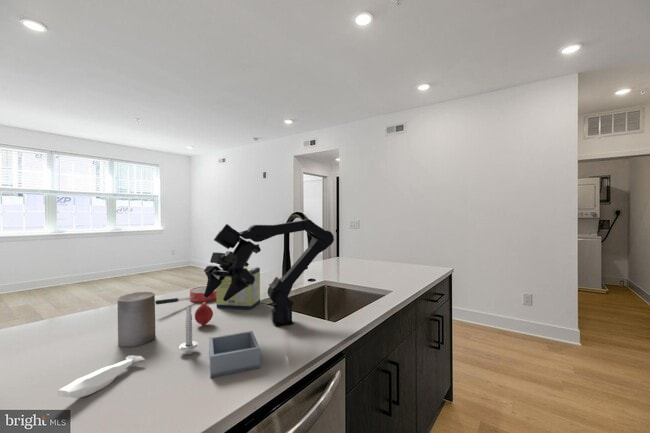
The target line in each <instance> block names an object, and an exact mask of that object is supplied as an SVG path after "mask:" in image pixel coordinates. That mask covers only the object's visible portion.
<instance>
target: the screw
mask: <svg viewBox="0 0 650 433" xmlns="http://www.w3.org/2000/svg"><path fill="white" fill-rule="evenodd" d="M185 310H186V314H185V325H184V326H185V327H184V328H185V341H184V342H182V343H181V344H180V345H179V346H178V349H179V350H180V351H182V353H183V354H184V355H185V356H188V355H192V354H193V353H195V349H196V348H197V347H198V346H199V342H197V341H196V340H193V314H192V307H191V306H187V307H186V309H185Z"/></svg>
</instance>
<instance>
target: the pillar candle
mask: <svg viewBox="0 0 650 433" xmlns="http://www.w3.org/2000/svg"><path fill="white" fill-rule="evenodd" d="M155 296H156V295H155V293H154V292H152V291H137V292H133V293H127V294H124V295H121V296H120V297H118V298H117V299H116V301H117V345H118V346H119V347H123V348H125V347H130V348H132V347H133V348H135V347H139V346H142V345H145V344H148V343H149V342H152V341H153V340H154V339H155V338H156V303H155V302H156V298H155Z"/></svg>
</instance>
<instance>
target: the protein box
mask: <svg viewBox="0 0 650 433" xmlns="http://www.w3.org/2000/svg"><path fill="white" fill-rule="evenodd" d="M244 268H245V269H247V270H249V271H250V272H251V273H252V274H253V275H254V276H255V281H254V283H253V285H249V287H246V288H244V289H243V290H241V291H240V292H238V293H237V294H235V295H234V296H233V297H231V298H230V299H229V300H227V301H224V300H223V298H224V296H225V294H226V292H227V290H228V288H229V286H230V284H231V278H229V277H225V278H224V280H222V281H221V282H222V283H221V284H220V285H219V286H218V287H217V300H216V309H229V310H230V309H231V310H232V309H233V310H247V311H248V310H252V309H254V307H256V306H257V305H258V304H260V302H261V268H260V267H257V266H256V267H255V266H254V267H252V266H251V267H249V266H248V267H244ZM220 269H221V270H222V271H223V269H222V268H220Z"/></svg>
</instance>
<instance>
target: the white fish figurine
mask: <svg viewBox="0 0 650 433" xmlns="http://www.w3.org/2000/svg"><path fill="white" fill-rule="evenodd" d="M145 360H146V358H144V357H143V356H142V355H133V354H129V355H127V356H126V357H125V360H121V361H120V362H117V363H114V364H112V365H108V366H104V367H101V368H99V369H97V370H95V371H93V372H91V373H89V374H86V375H84V376H81V377H78V378H77V379H75V380H74V381H72V382H71V383H69V384H67V385H65V386H63V387H61V388H60V389H58V390H56V392H57V395H58V396H59V397H65V398H71V399H72V398H73V399H80V398H83V397H86V396H89V395H91V394H94V393H96V392H98V391H100V390H101V389H103V388H105V387H107V386H108V385H110V384H111V383H113V381H115V379H116V378H117V377H118V376H119V374H121V373H122V372H123V371H124V370H126V369H127V368H128V367H129V366H131V365H132V364H133V363H136V362H140V361H145Z"/></svg>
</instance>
